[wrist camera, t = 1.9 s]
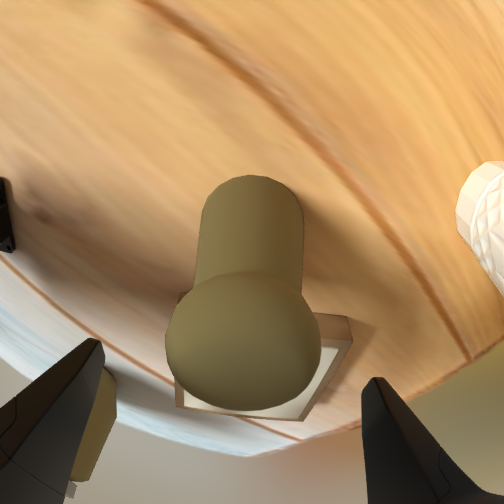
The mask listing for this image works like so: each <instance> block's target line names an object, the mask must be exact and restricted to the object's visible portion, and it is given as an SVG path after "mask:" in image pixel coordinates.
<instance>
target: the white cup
mask: <svg viewBox="0 0 504 504" xmlns="http://www.w3.org/2000/svg"><path fill="white" fill-rule="evenodd" d="M455 215H456V225H457V231H458V233H459V234H460V236H461V237H462V239H463V241H464V242H465V244H466V245H467V246H468V247H469V249H470V250H471V251H472V252H473V253H474V254H475V256H476V257H477V260H478V262H479V263H480V264H481V266H482V267H483V268H484V270H485V271H486V272H487V274H488V276H489V277H490V278H491V280H492V281H493V283H494V284H495V286H496V287H497V288H498V290H499V291H500V293H501V294H502V296H503V297H504V162H503V161H488V162H485V163H483V164H482V165H481V166H479V167H478V168H477V169H475V170H474V171H473V172H471V174H470V175H469V177H468V179H467V180H466V182H465V184H464V185H463V187H462V188H461V190H460V193H459V198H458V202H457V206H456V210H455Z"/></svg>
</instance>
